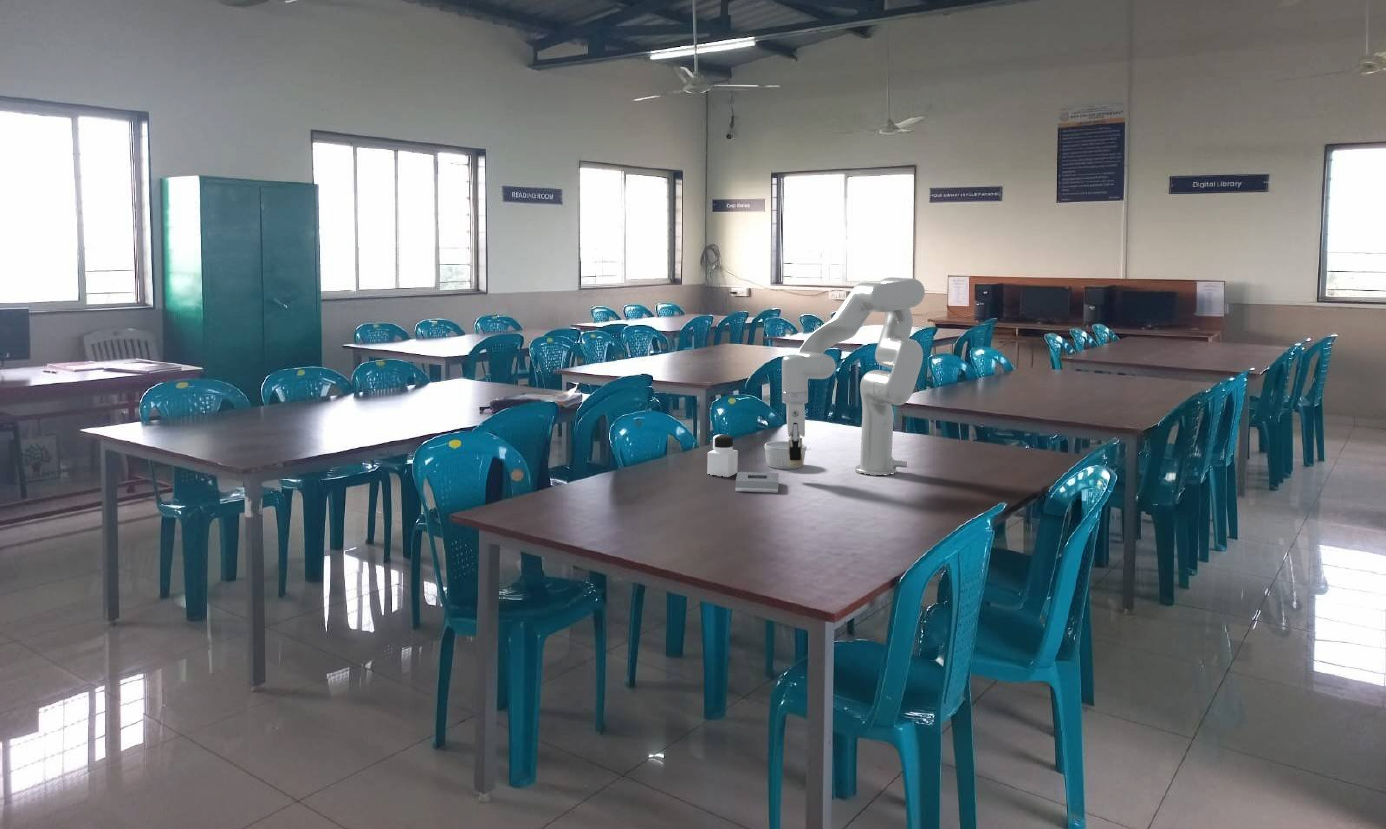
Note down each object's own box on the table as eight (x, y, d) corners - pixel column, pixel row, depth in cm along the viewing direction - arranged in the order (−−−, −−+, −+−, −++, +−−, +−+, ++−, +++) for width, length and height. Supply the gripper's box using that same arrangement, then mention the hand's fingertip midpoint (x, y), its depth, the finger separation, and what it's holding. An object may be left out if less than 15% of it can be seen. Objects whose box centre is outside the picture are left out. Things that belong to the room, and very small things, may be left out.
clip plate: (778, 483, 302) (778, 473, 302) (778, 492, 291) (778, 482, 290) (737, 481, 303) (737, 471, 303) (735, 491, 292) (735, 480, 291)
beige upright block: (802, 464, 306) (801, 437, 305) (802, 466, 303) (802, 439, 302) (788, 464, 307) (788, 438, 305) (788, 466, 304) (788, 440, 302)
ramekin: (805, 462, 333) (806, 441, 332) (806, 471, 320) (806, 449, 319) (764, 461, 334) (765, 440, 333) (763, 469, 321) (763, 447, 320)
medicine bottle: (737, 473, 315) (738, 434, 314) (728, 477, 309) (729, 438, 307) (716, 470, 318) (717, 432, 317) (706, 475, 312) (707, 436, 310)
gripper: (808, 401, 293) (808, 464, 296) (807, 392, 309) (807, 452, 312) (782, 402, 294) (782, 465, 297) (782, 393, 310) (782, 452, 313)
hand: (795, 458), depth 304 cm, fingers closed on beige upright block, 3 cm apart
